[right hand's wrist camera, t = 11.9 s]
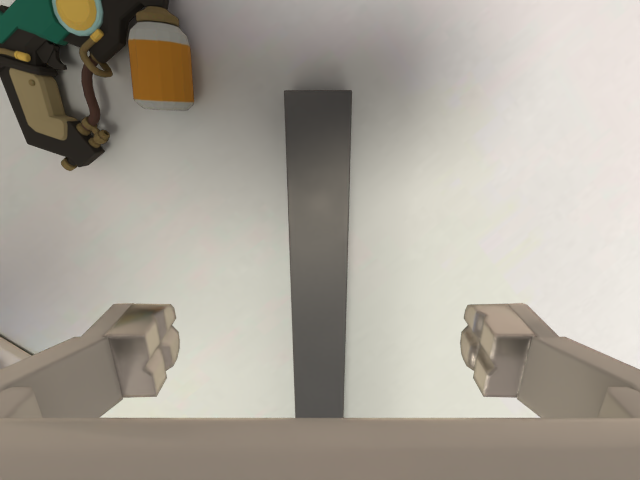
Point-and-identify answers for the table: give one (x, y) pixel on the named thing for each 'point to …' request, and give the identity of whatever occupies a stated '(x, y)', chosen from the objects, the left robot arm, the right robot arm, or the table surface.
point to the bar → (318, 244)
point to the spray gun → (88, 65)
